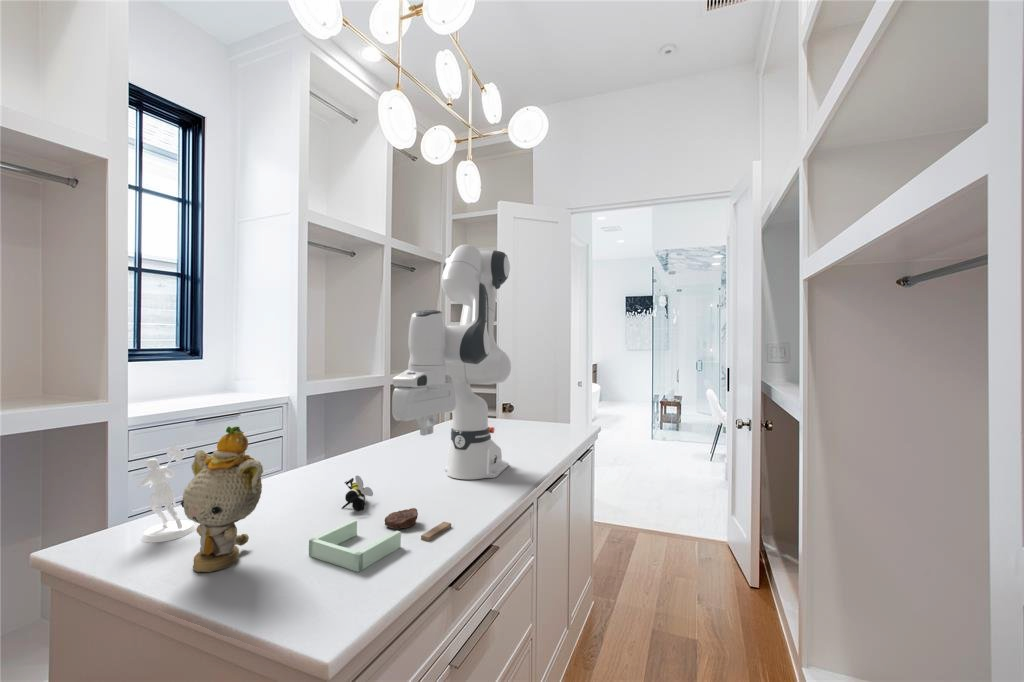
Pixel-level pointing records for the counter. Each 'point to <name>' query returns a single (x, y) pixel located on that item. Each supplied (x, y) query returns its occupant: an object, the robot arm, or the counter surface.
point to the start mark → (435, 531)
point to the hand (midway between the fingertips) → (426, 434)
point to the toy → (357, 494)
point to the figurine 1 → (164, 501)
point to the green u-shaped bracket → (348, 558)
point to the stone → (402, 518)
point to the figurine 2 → (222, 499)
